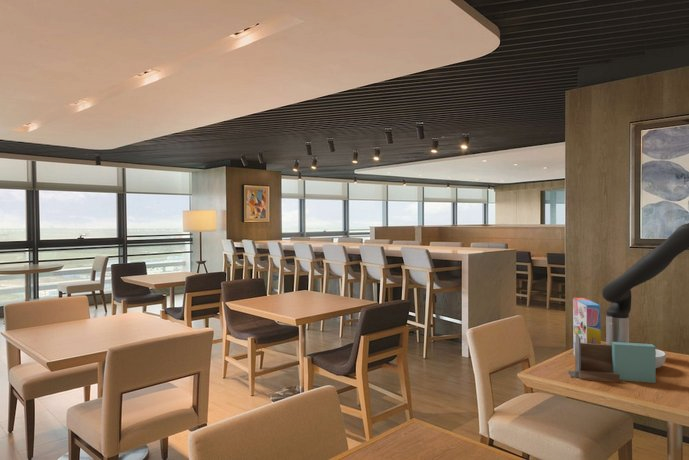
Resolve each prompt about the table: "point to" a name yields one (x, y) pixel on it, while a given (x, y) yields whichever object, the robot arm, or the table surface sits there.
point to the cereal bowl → (660, 358)
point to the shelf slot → (596, 362)
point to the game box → (586, 321)
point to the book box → (634, 361)
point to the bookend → (577, 358)
